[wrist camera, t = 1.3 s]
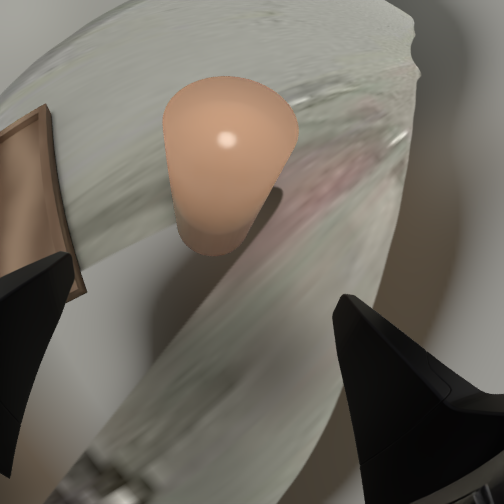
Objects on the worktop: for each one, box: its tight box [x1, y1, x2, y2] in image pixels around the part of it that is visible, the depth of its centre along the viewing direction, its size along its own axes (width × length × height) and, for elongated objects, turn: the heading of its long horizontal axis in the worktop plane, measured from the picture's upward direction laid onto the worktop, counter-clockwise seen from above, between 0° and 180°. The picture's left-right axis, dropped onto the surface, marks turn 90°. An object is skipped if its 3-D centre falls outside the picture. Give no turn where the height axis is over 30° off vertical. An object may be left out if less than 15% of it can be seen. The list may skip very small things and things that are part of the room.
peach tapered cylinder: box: [163, 76, 299, 256], centre depth 17 cm, size 6×6×12 cm
